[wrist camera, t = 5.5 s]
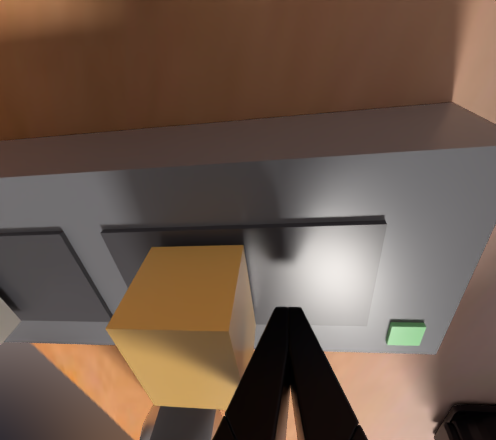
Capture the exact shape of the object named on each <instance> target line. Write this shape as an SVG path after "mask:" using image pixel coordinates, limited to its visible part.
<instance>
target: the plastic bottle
mask: <svg viewBox="0 0 496 440" xmlns="http://www.w3.org/2000/svg"><path fill="white" fill-rule="evenodd" d="M159 409H160V406H154V405H153V406H152V407H151V409H150V411H149V413H148V415H147V417H146V419H145V421H144V423H143V427H142V431H141V436H140V440H150V437H151V434H152V431H153V428H154V425H155V421H156V418H157V415H158V412H159ZM222 418H223V417H222V415H221V412H220V410H219V409H216V413H215V419H214V425H213V431H212V437H211V440H212V439H213V437H214V435H215V433H216V431H217V428H218V426H219V424H220V422H221V420H222Z"/></svg>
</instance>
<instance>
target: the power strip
mask: <svg viewBox="0 0 496 440" xmlns="http://www.w3.org/2000/svg"><path fill="white" fill-rule="evenodd" d="M495 224H496V124H494V123H492V122H490V121H488V120H486V119H484V118H482V117H480V116H478V115H476V114H474V113H472V112H471V111H469V110H467V109H465V108H463V107H461V106H459V105H457V104H455V103H453V102H449V103H437V104H425V105H414V106H402V107H390V108H379V109H367V110H355V111H343V112H332V113H320V114H308V115H297V116H285V117H273V118H262V119H250V120H238V121H227V122H215V123H203V124H191V125H180V126H168V127H156V128H145V129H133V130H121V131H110V132H98V133H86V134H74V135H63V136H51V137H39V138H28V139H16V140H4V141H0V297H1V299H2V300H3V301H4V302H5V303H6V304H7V305H8V306H9V308H10V309H11V310H12V311H13V312H14V313H15V314H16V315H17V317H18V318H19V319H20V320H21V322H20V323H19V324H18V325H17V327H16V328H15V329H14V330H13V331H12V332H11V334H10V335H9V336H8V337H7V338H6V339H5V341H4V342H23V343H24V342H25V343H57V344H91V345H115V343H114V342H113V340H112V338H111V337H110V335H109V334H108V332H107V331H106V327H107V325H108V323H109V322H110V320H111V318H112V316H113V314H114V313H115V311H116V309H117V307H118V306H119V304H120V302H121V300H122V299H123V297H124V295H125V293H126V291H127V290H128V288H129V286H130V284H131V283H132V281H133V279H134V277H135V276H136V274H137V272H138V270H139V268H140V267H141V265H142V263H143V261H144V260H145V258H146V256H147V254H148V252H149V251H150V249H151V247H177V246H220V245H243V246H244V252H245V258H246V265H247V271H248V278H249V284H250V290H251V297H252V303H253V310H254V316H255V323H256V329H255V340H254V349H255V348H256V346H257V344H258V342H259V340H260V338H261V336H262V334H263V331H264V329H265V327H266V325H267V323H268V321H269V319H270V317H271V315H272V312H273V310H274V308H275V307H301V308H302V310H303V312H304V314H305V316H306V318H307V320H308V322H309V324H310V326H311V328H312V330H313V332H314V334H315V336H316V338H317V340H318V342H319V344H320V346H321V348H322V350H323V351H333V352H367V353H402V354H436V353H437V351H438V349H439V347H440V345H441V342H442V340H443V338H444V336H445V334H446V331H447V329H448V327H449V325H450V323H451V321H452V318H453V316H454V314H455V312H456V310H457V307H458V305H459V303H460V301H461V299H462V296H463V294H464V292H465V290H466V288H467V286H468V283H469V281H470V279H471V277H472V275H473V272H474V270H475V268H476V266H477V264H478V261H479V259H480V257H481V255H482V253H483V251H484V248H485V246H486V244H487V242H488V240H489V237H490V235H491V233H492V231H493V229H494V226H495Z"/></svg>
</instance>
